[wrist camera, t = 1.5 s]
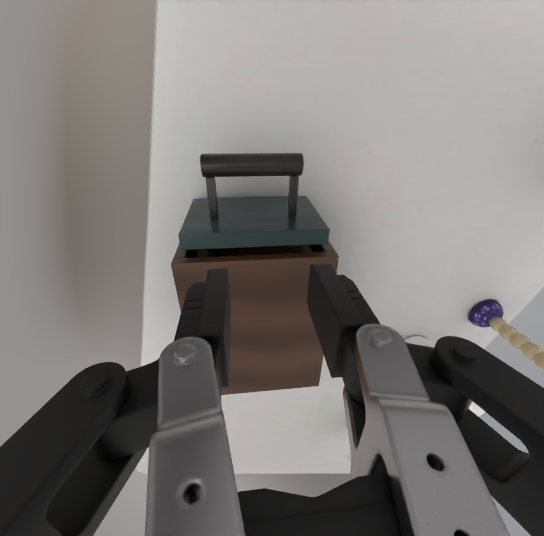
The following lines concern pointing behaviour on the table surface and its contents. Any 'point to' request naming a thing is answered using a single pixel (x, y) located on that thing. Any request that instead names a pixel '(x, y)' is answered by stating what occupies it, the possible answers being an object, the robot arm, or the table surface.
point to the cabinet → (264, 315)
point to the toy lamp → (505, 329)
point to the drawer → (252, 211)
